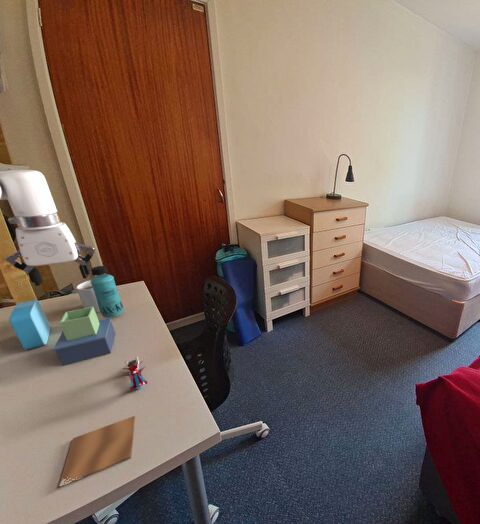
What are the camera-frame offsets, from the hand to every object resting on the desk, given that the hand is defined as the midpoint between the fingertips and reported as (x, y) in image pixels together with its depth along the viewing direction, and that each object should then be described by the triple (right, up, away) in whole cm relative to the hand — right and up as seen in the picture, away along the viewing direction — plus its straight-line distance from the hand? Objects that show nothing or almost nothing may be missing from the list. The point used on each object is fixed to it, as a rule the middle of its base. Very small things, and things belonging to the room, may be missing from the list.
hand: (63, 280), depth 78 cm
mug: (-16, -13, +31) cm, 37 cm away
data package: (-21, -20, +12) cm, 32 cm away
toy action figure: (+22, -28, -1) cm, 35 cm away
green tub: (-1, -16, +7) cm, 18 cm away
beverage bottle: (-7, -15, +25) cm, 30 cm away
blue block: (-1, -22, +9) cm, 24 cm away
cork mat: (+27, -35, -19) cm, 48 cm away
